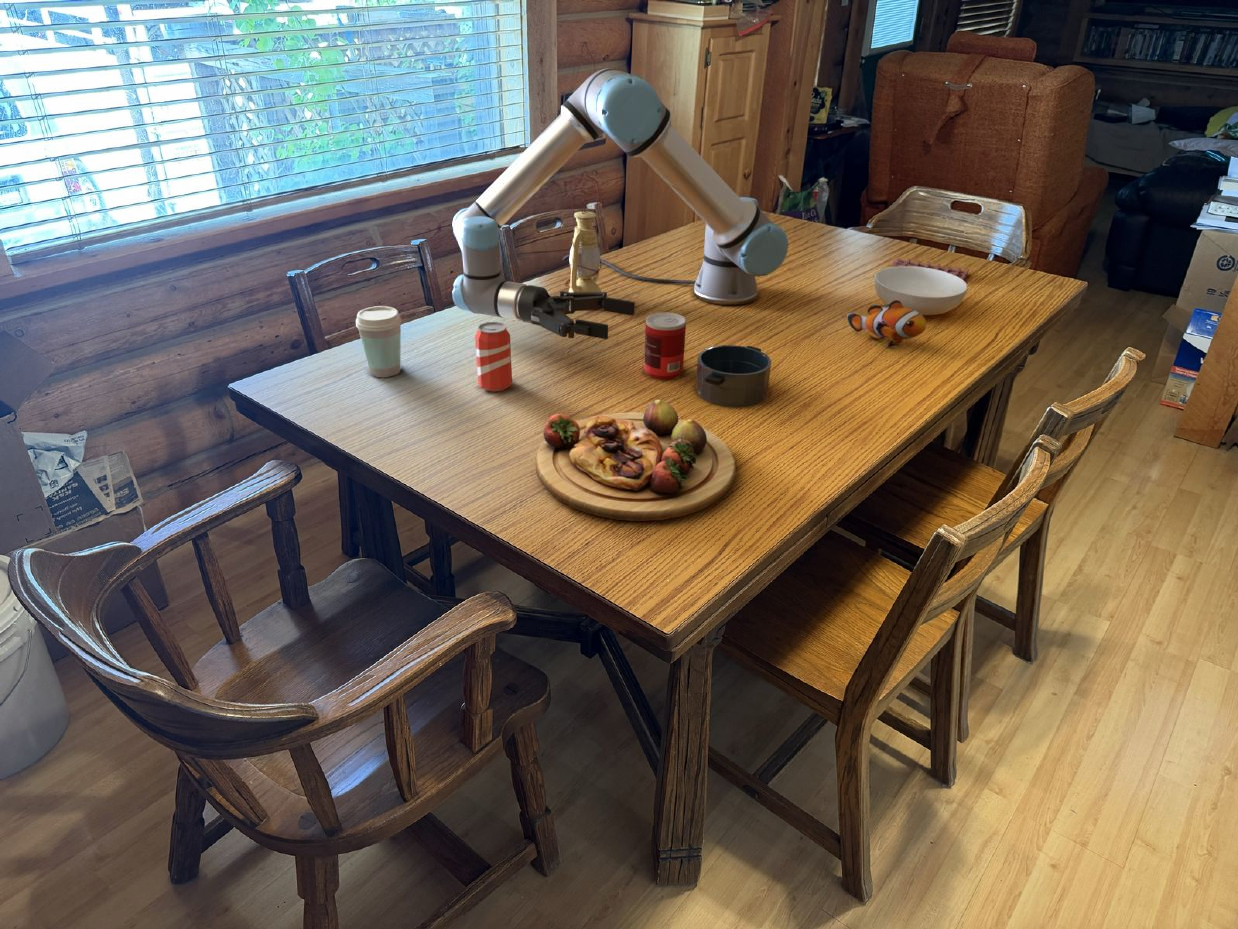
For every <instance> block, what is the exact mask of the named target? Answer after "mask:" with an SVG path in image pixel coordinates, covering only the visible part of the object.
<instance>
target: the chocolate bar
mask: <svg viewBox="0 0 1238 929" xmlns="http://www.w3.org/2000/svg"><path fill="white" fill-rule="evenodd" d="M898 266H914V267H924V268H931V269H936V270H940V271H944V272H947V273H950V274H953V275H955V276H957V277H959V278H961V279H962V280H963V281H965V280H966V279H967V278H968V276H969V270H970V269H969V268H965V270H962V268H961V267H957V269H955V268H951V265H947V267H944V266H941V264H940V263H937V264H936V265H931V262H929V261H927V262H926V263H921V260H917V261H916V262H914V261H911V259H910V258H907V259H906V260H902V259H901V258H900V257H896V258H895V259H894V260H893V262H892V264H891V265H890V267H898Z"/></svg>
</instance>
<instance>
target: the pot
mask: <svg viewBox="0 0 1238 929" xmlns="http://www.w3.org/2000/svg"><path fill="white" fill-rule="evenodd" d="M696 362H697V363H696V377H695V391H696V394H697V395H698V396H699V397H700V398H701V399H703V400H704V401H706V402H709V403H710V404H714V405H717V406H721V407H722V406H723V407H730V408H745V407H752V406H755V405H758V404H761V403H762V402H763V401H765V400H766V399H767V398H768V394H769V388H770V382H771V381H770V379H771V372H772V363H773V362H772V360H771V358H770V356H769V355H767V354H766V353H765V352H764V351H762V350H761V351H759V350H756V349H753V348H749V347H747V346H744V345H736V344H721V345H715V346H710V347H708V348H705V349H703V350H701V351H700V352H699V354H698V355H697V361H696ZM710 374H714V375H718V376H722V377H725V378H724V382H723V383H722V384H721V385H719V386H717V385H714V384H710V383H707V382H705V378H706V377H707V376H708V375H710Z"/></svg>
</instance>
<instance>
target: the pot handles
mask: <svg viewBox="0 0 1238 929" xmlns="http://www.w3.org/2000/svg"><path fill="white" fill-rule="evenodd" d="M746 347H749V348H753V349H756V350H759V351H761V352H762V348H760V347H756V346H752V345H747V346H746ZM724 378H725V377H722V376H718V375H714V374H710V375H708V376H707V377H706V378H705V382H707V383H710V384H714V385H717V386H719V385H721V384H722V383H723V382H724Z"/></svg>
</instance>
